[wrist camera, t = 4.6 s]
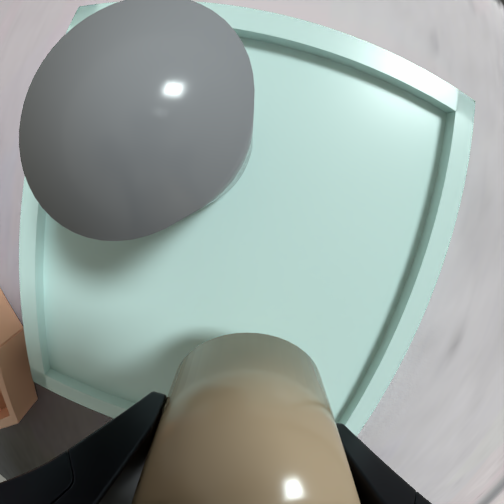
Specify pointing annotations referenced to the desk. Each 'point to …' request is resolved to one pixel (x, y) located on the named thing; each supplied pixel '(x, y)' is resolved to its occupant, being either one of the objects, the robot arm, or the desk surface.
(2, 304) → the dish
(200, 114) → the grey rounded lump
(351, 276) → the parts tray
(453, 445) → the desk surface
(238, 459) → the river pebble
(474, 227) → the desk surface
